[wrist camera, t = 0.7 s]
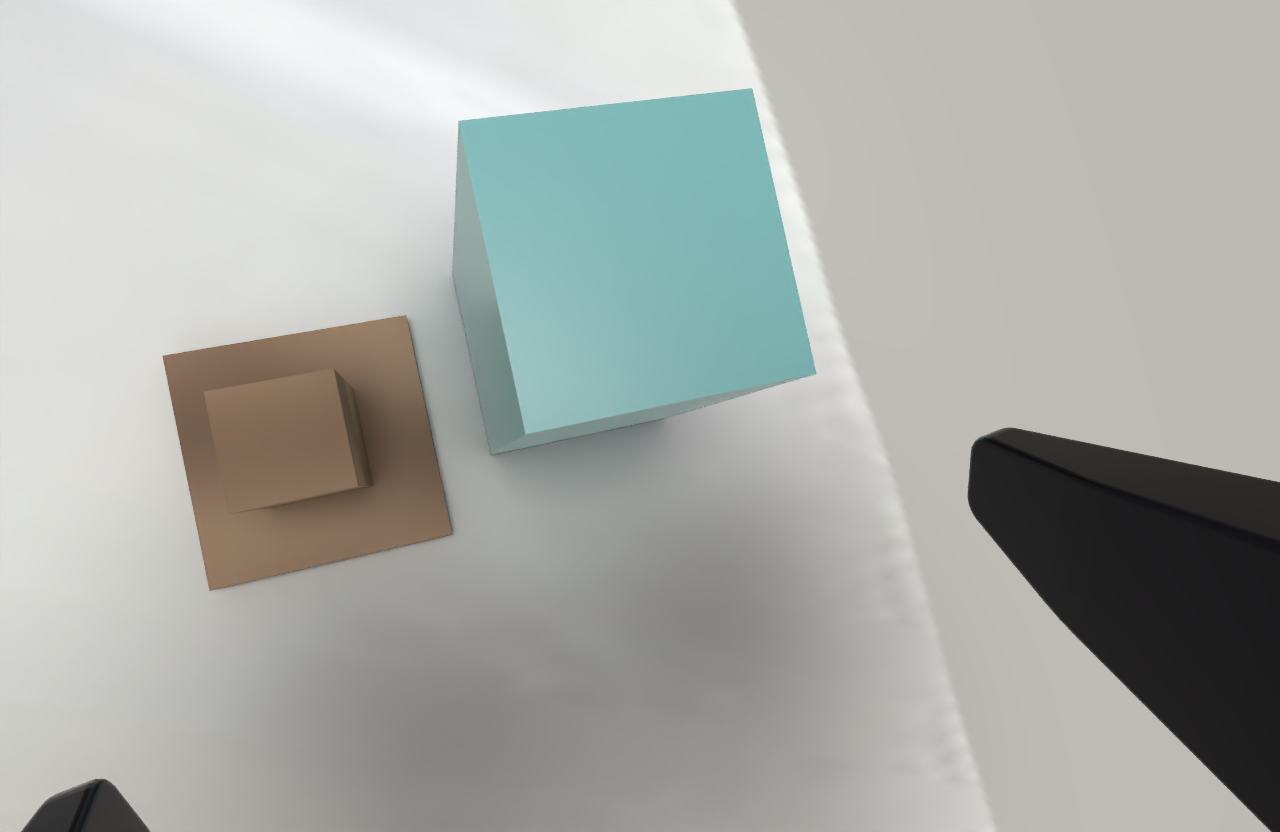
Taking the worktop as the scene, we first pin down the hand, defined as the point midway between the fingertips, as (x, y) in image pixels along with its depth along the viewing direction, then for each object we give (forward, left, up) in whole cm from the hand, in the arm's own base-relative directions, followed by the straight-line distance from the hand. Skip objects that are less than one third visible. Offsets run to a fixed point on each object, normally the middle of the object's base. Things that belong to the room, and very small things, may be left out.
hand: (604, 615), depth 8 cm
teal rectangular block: (+5, -1, -15) cm, 16 cm away
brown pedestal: (+1, +5, -15) cm, 16 cm away
